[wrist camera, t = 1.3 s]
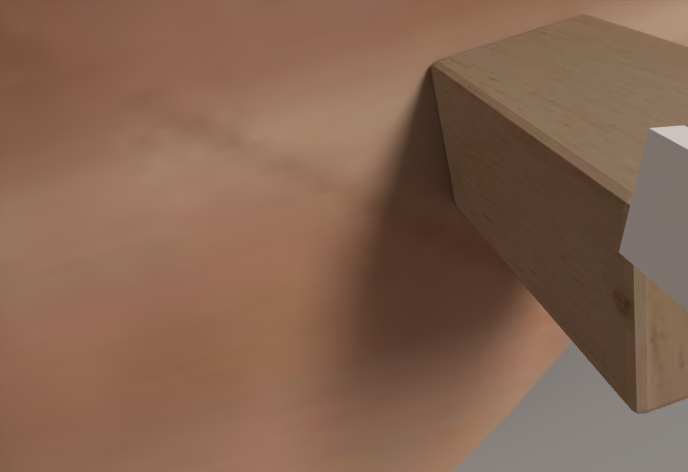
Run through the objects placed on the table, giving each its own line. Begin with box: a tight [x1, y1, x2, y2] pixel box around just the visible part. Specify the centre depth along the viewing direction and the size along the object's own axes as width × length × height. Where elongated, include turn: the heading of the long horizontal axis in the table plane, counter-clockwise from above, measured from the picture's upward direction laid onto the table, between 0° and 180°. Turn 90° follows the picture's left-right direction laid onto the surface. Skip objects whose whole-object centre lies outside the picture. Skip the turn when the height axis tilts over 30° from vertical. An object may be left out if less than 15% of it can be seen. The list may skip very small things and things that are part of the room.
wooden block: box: [431, 15, 688, 414], centre depth 32 cm, size 10×10×20 cm
